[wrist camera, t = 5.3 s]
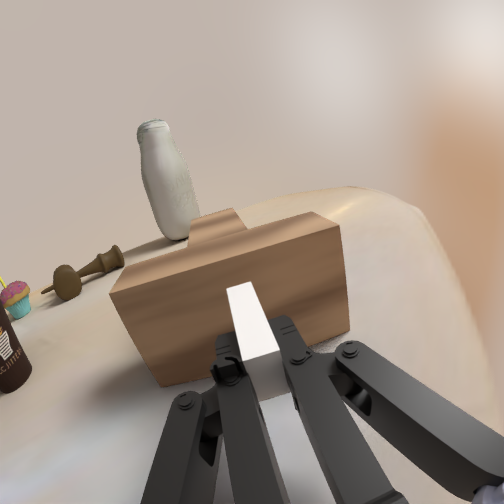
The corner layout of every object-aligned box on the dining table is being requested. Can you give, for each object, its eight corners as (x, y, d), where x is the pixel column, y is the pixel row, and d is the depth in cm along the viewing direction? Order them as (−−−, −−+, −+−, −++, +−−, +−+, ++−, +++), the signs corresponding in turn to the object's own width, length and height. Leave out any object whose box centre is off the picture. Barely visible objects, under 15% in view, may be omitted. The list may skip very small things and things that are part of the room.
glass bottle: (183, 230, 69) (153, 125, 59) (213, 228, 63) (181, 111, 54) (155, 246, 62) (120, 131, 52) (184, 245, 56) (147, 114, 46)
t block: (350, 330, 21) (339, 224, 18) (161, 387, 20) (108, 293, 16) (291, 262, 36) (276, 195, 33) (172, 298, 35) (148, 233, 31)
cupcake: (15, 325, 37) (-11, 271, 33) (5, 321, 40) (-18, 273, 36) (42, 304, 45) (19, 252, 41) (29, 303, 48) (9, 256, 44)
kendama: (132, 270, 52) (47, 313, 40) (120, 264, 59) (47, 301, 47) (122, 242, 50) (34, 284, 38) (111, 240, 57) (36, 276, 45)
